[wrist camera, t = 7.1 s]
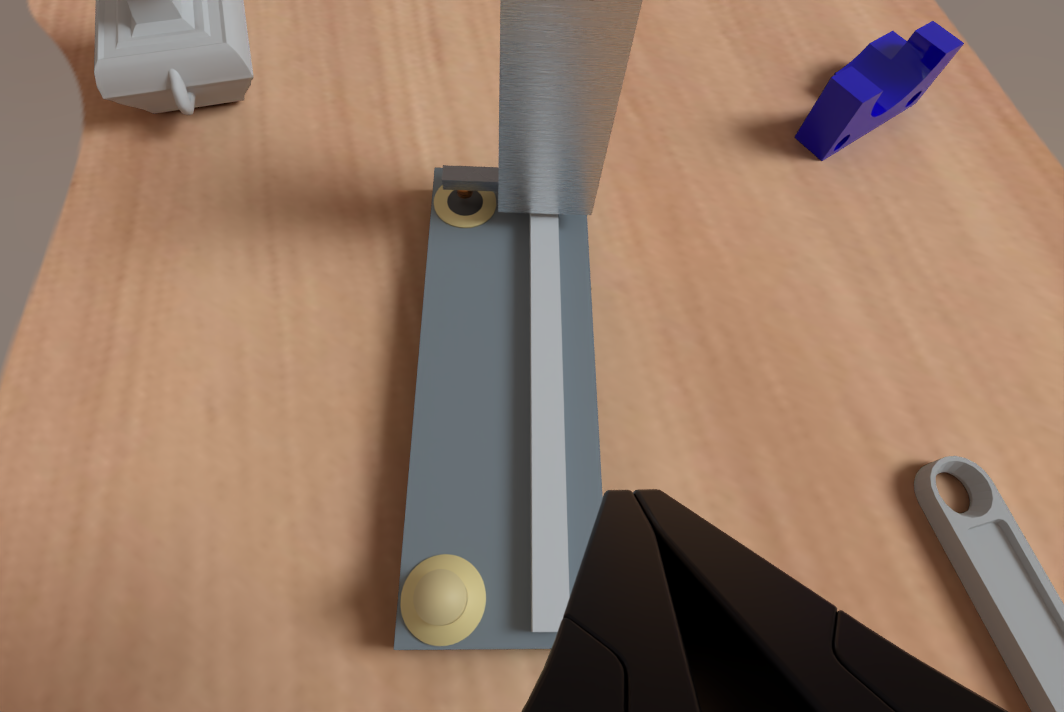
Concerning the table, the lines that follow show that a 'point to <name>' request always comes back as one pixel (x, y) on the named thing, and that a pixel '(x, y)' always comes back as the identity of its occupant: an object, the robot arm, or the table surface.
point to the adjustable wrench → (1001, 579)
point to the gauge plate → (499, 429)
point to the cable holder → (876, 87)
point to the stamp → (171, 53)
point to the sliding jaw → (554, 103)
